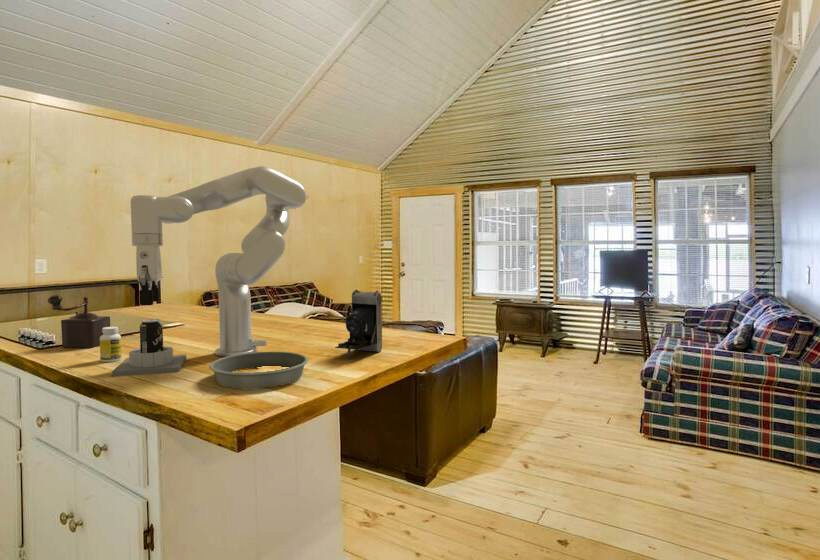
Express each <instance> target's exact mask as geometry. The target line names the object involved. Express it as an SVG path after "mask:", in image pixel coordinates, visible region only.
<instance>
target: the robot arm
mask: <svg viewBox="0 0 820 560" xmlns="http://www.w3.org/2000/svg"><path fill="white" fill-rule="evenodd" d="M258 195H265V199H264V200H265V205H266V206H265V207H266V212H265V215H264V217H263V218H261V220H260V222H259V223H257V224H256V225H255V226H254V227H253V228H252V229H251V230H250V231H249V232H248V233H247V234H246V235H245V236H244V237H243V239H242V241H241V253H239V252H228V253H225V254H223V255H222V256H220V257H219V259H217V261H216V264H215V267H214V268H215V269H214V270H215V272H214V273H215V279H216V284H217V289H218V290H217V292H218V321H219V323H218V324H219V329H218V330H219V347H218V348H216V349H215V350H214V355H216V356H219V357H228V356H233V355H238V354H245V353H253V352H258V351H257V349H258V348H257V347H266V346H267V339H254V336H253V335H252V308H251V307H252V302H251V301H252V300H251V299H252V296H251V291H250V290H251V289H250V285H253V284H256V283H258V282H259V281H260V280H261V279H262V278H264V276H265V275H266V274H267V273H268V272H270V270H271V269H273V267H274V265H276V264H277V262H278V261H279V260H280V259H281V257H282V256H283V254H284V252H285V250H286V241H285V238H284V235H285V234H286V233H287V231H288V229H289V228H290V227H289V226H290V222H291V221H290V210H294V209H295V210H296V209H298V208H301V207H302V206H304V204H305V203H306V200H307V192H306V190H305V188H304V187H303V185H302V184H300V183H299V182H297V181H296V180H294V179H292V178H290V177H288V176H286V175H284V174H282V173H281V172H278V171H277V170H275V169H272V168H270V167H267V166H264V165H263V166H262V165H261V166H256V167H250V168H246V169H243V170H240V171H237V172H234V173H231V174H229V175H226V176H222V177H219V178H216V179H214V180H210V181H208V182H204V183H202V184H200V185H198V186H195V187H192V188H189V189H186V190H182V191H179V192H177V193H174V194H171V195H168V196H155V195H149V194H148V195H147V194H139V195H138V194H136V195H133V196H132V197H131V198H130V222H131V225H130V226H131V244H132V246H133V247H136V250H135V251H136V253H135V254H136V255H135V256H136V259H135V261H136V264H135V265H136V267H135V268H136V279H137V281H138V282H139V285H138V286H139V288H138V293H139V294H138V295H139V296H138V297H139V305H140V306H142V307H143V306H153V305H154V302H160V292H159V291H160V287H159V281H162V279H163V267H162V255H161V247H163V246H164V245H163V244H164V242H163V241H164V239H163V238H164V237H163V224H167V225H168V224H169V225H170V224H181V223H186V222H187V221H189V220H190V219H191V218H192V217H193V215H196V214H200V213H204V212H207V211H214V210H220V209H222V208H227V207H229V206H231V205H234V204H237V203H239V202H241V201H243V200H246V199H250V198H252V197H255V196H258Z"/></svg>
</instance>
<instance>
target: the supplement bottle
mask: <svg viewBox="0 0 820 560" xmlns="http://www.w3.org/2000/svg"><path fill="white" fill-rule="evenodd" d="M102 332H103V335H102V336H101V337H100V346H99V352H100V353H99V355H100V356H99V357H100V359H99V360H100V362H103V363H111V362H117V361H121V359H122V356H123V355H122V336H121V334H119V333H118V332H119V326H110V327H105V328H102Z"/></svg>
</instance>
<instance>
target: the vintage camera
mask: <svg viewBox="0 0 820 560" xmlns="http://www.w3.org/2000/svg"><path fill="white" fill-rule="evenodd" d="M382 303H383V296H382V294H381V292H379V291H378V290H376V291H362V290H361V291H360V290H358V289H355V290H354V291H353V292H352V293H351V313H349V314H348V316H347V317H346V318H345V319H344V321H345V329H346V330H347V332H349V338H348V339H347V340H346V341H344V342H342V343H338V344H337V346H335V347H334V349H344V350H347V359H348V358H349V359H348V360H351V351H352V350H355V351H361V352H362V351H363V352H371V351H372V353H373V352H374V353H380V352H382V349H383V310H382V309H383V307H382V306H383V305H382Z"/></svg>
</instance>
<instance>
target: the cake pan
mask: <svg viewBox="0 0 820 560" xmlns="http://www.w3.org/2000/svg"><path fill="white" fill-rule="evenodd" d="M308 361H309V358H308V356H306V355H304V354H301V353H296V352H290V351H256V352H253V353H245V354H238V355H233V356H228V357H227V356H223V357H222V358H221V357H220V358H219V359H216V360H213V361H212V362H211V363H210V364H209V365H208V368H209V369H210V370H211V371H212V372H214V376H215V379H216V383H217V382H218V383H217V384H218V385H220V386H222V387H224V388H225V387H226V388H231V389H238V388H258V389H265V388H264V387H269V388H272V387H271V386H275V387H278V386H277V385H281V386H283V385H282V384H285V385H287V384H286V383H288V384H290V383H289V382H292V381H294V382H296V381H298V380H299V378H300V377H301V376H302V377H303V373H304V367H305V365H307V364H308ZM262 366H281V367H289V368H286V369H281V370H275V371H267V372H256V371H254V372H253V371H252V372H238V371H240V370H239V369H244V370H246V369H245V368H251V369H253V368H252V367H262ZM236 370H238V371H236ZM232 371H234V372H232ZM302 377H301V378H302ZM301 378H300V379H301ZM297 379H298V380H297ZM295 380H296V381H295ZM292 383H293V382H292Z"/></svg>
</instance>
